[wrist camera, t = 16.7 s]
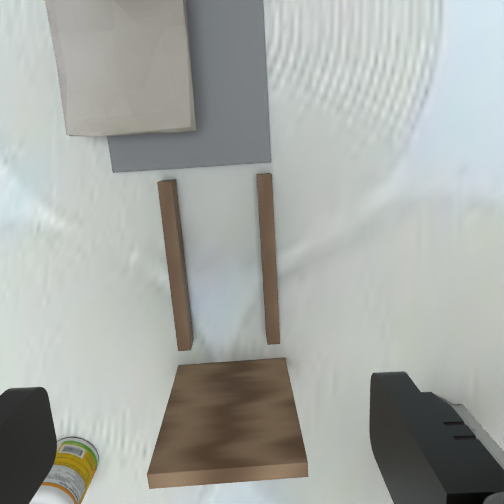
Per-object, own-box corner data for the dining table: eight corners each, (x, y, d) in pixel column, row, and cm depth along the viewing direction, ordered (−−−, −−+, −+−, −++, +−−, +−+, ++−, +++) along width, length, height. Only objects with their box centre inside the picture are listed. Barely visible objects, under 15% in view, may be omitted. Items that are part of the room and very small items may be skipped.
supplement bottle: (64, 483, 43) (16, 575, 34) (40, 446, 42) (-18, 531, 33) (108, 467, 43) (71, 555, 34) (85, 429, 42) (39, 509, 32)
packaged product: (185, -119, 29) (55, -108, 30) (169, -171, 24) (15, -157, 25) (204, 133, 33) (91, 139, 34) (194, 131, 29) (62, 137, 29)
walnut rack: (276, 172, 36) (298, 185, 22) (285, 368, 41) (308, 476, 27) (155, 180, 35) (103, 198, 22) (179, 375, 40) (149, 488, 27)
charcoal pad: (253, -165, 29) (254, -174, 28) (270, 161, 35) (271, 162, 34) (67, -155, 29) (62, -163, 28) (115, 172, 35) (112, 172, 34)
